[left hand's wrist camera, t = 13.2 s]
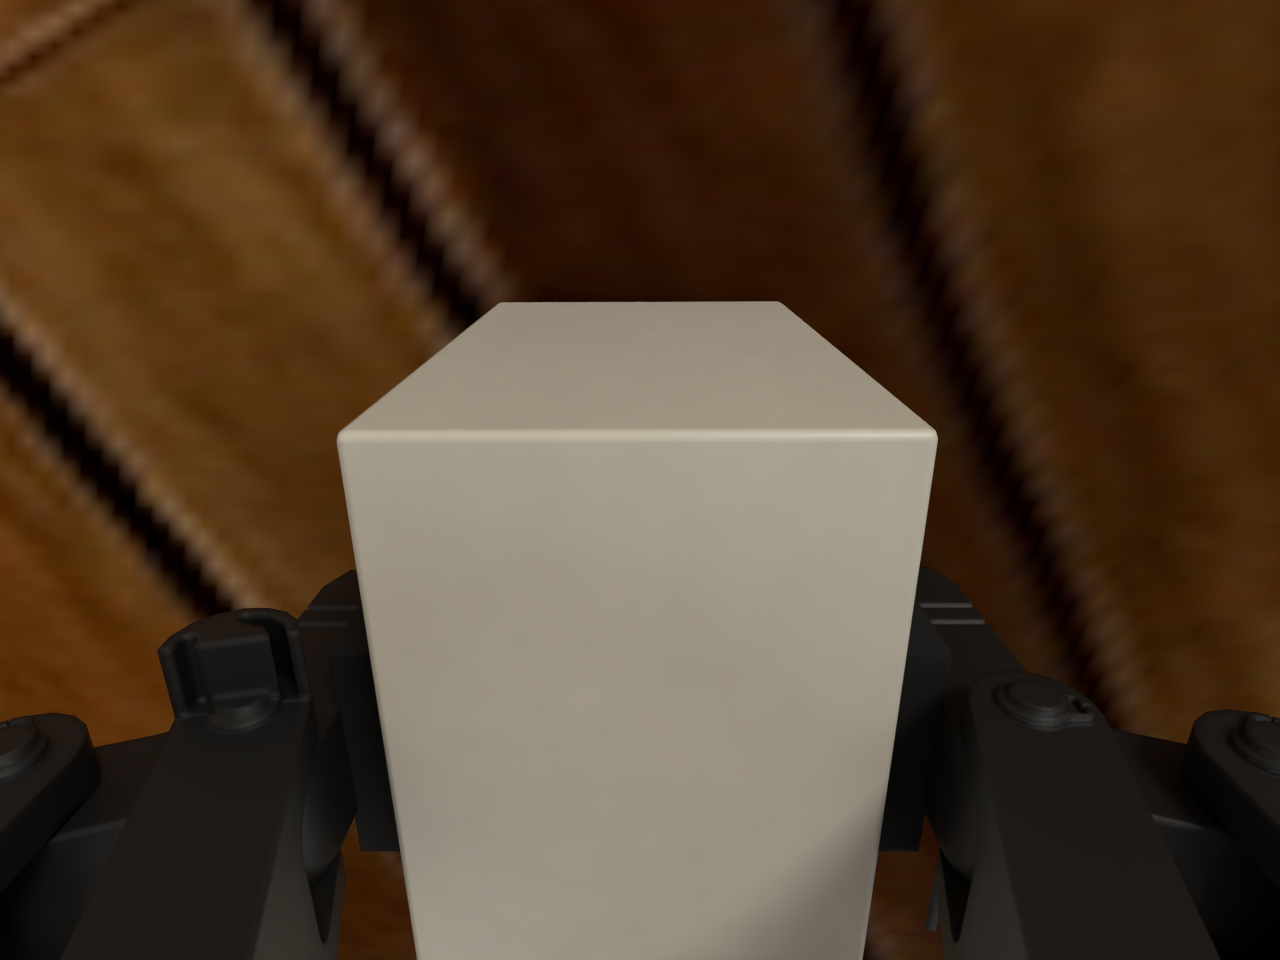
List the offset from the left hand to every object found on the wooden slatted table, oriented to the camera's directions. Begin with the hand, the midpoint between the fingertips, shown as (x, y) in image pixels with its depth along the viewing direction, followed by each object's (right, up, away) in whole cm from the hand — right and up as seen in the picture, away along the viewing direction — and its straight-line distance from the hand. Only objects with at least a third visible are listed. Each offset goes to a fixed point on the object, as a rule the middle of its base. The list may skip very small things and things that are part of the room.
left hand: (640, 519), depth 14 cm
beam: (0, -12, +5) cm, 13 cm away
